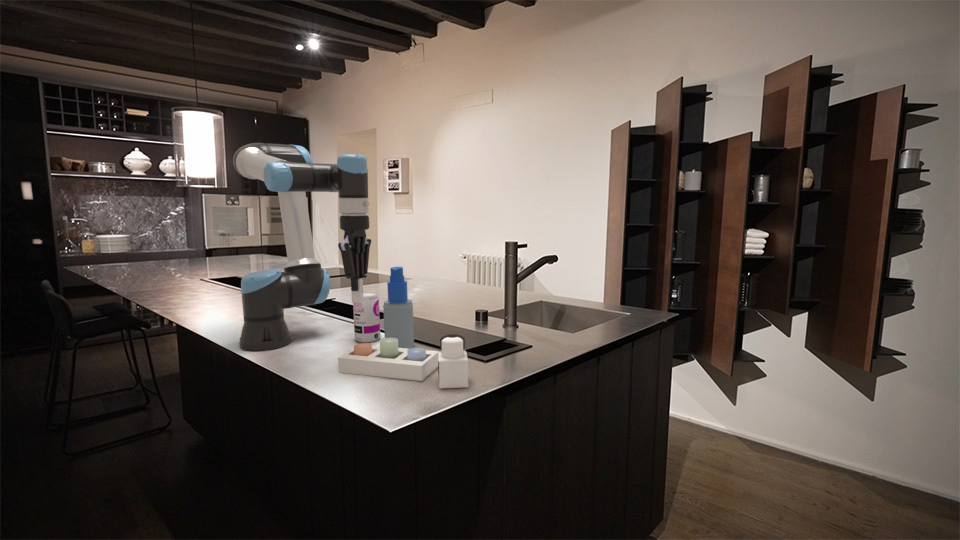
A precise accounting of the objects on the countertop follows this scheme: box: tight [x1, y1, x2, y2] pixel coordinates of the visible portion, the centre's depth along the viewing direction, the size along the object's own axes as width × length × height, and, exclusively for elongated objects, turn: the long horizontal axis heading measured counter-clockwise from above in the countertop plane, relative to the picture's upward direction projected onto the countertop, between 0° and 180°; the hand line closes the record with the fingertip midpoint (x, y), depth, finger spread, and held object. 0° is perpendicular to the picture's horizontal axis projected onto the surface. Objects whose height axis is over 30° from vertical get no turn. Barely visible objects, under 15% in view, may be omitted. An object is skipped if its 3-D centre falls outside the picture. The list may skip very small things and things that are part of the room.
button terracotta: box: [353, 342, 373, 356], centre depth 132 cm, size 5×5×5 cm
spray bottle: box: [383, 266, 415, 349], centre depth 147 cm, size 9×9×25 cm
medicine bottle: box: [437, 333, 469, 390], centre depth 119 cm, size 7×7×12 cm
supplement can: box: [352, 291, 381, 343], centre depth 157 cm, size 8×8×15 cm
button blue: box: [407, 347, 427, 362], centre depth 128 cm, size 5×5×5 cm
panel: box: [337, 344, 440, 382], centre depth 130 cm, size 24×12×4 cm, turn 73°
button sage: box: [379, 337, 399, 359], centre depth 130 cm, size 5×5×5 cm
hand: (357, 301), depth 131 cm, fingers closed
